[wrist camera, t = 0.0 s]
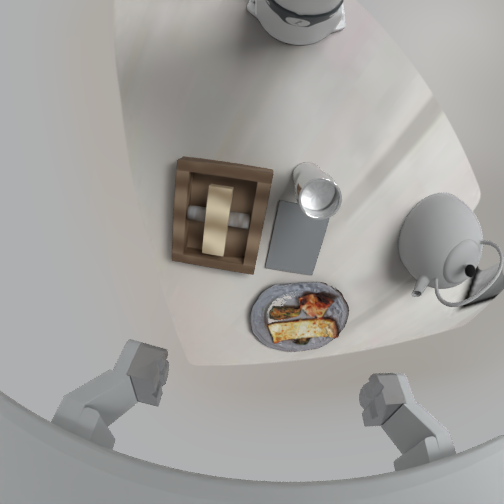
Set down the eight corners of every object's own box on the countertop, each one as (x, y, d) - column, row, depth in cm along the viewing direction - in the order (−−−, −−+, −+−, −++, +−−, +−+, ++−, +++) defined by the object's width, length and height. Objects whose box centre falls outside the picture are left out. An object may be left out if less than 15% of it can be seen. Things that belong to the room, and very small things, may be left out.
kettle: (412, 295, 66) (446, 355, 46) (374, 238, 59) (414, 300, 39) (477, 240, 57) (525, 286, 37) (450, 173, 50) (514, 209, 30)
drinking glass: (283, 182, 54) (288, 206, 41) (302, 152, 51) (313, 167, 38) (312, 199, 55) (326, 229, 42) (331, 171, 52) (351, 192, 39)
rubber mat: (279, 200, 56) (279, 200, 56) (331, 210, 56) (331, 211, 56) (265, 266, 64) (265, 267, 63) (311, 274, 64) (312, 275, 64)
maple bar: (210, 183, 52) (208, 185, 50) (233, 187, 52) (232, 189, 50) (203, 248, 58) (201, 252, 56) (224, 252, 58) (223, 256, 57)
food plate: (351, 275, 63) (354, 283, 60) (342, 341, 75) (344, 350, 72) (246, 280, 67) (245, 289, 63) (256, 346, 78) (255, 355, 75)
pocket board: (183, 156, 53) (177, 159, 49) (272, 169, 53) (273, 174, 50) (177, 251, 63) (172, 260, 60) (254, 265, 64) (253, 274, 60)
